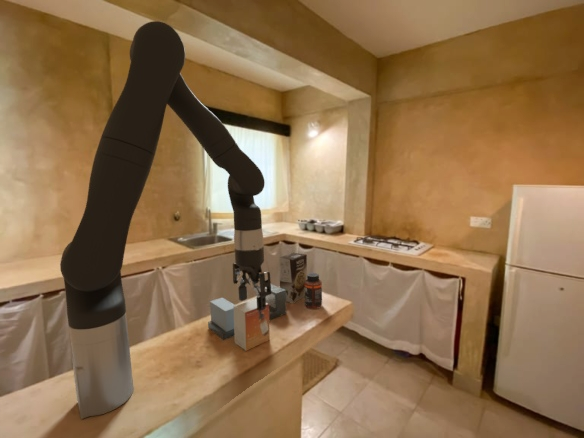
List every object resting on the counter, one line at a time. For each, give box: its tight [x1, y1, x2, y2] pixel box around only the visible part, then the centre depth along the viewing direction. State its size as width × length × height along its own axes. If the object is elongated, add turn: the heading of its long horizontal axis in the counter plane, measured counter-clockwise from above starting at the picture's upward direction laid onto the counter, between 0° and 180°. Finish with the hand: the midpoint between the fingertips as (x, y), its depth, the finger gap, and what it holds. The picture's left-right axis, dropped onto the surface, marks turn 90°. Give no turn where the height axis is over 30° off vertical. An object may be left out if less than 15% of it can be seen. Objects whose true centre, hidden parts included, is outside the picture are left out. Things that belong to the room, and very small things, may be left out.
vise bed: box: [207, 283, 287, 341], centre depth 88 cm, size 23×9×8 cm, turn 133°
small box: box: [234, 297, 271, 352], centre depth 76 cm, size 8×6×10 cm
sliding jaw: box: [209, 297, 236, 332], centre depth 82 cm, size 4×9×6 cm, turn 43°
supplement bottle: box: [304, 272, 323, 310], centre depth 97 cm, size 6×6×11 cm
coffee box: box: [279, 252, 308, 304], centre depth 104 cm, size 9×6×16 cm
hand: (252, 304), depth 75 cm, fingers open, 8 cm apart
